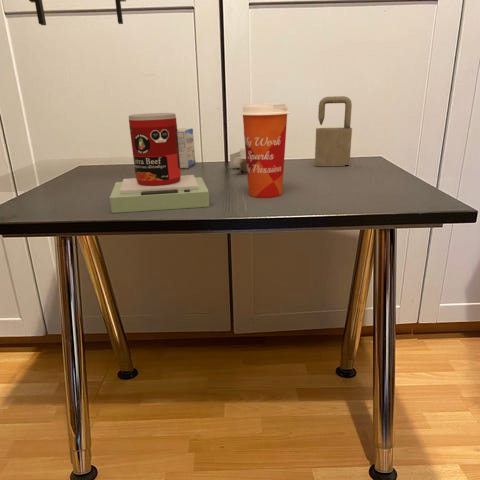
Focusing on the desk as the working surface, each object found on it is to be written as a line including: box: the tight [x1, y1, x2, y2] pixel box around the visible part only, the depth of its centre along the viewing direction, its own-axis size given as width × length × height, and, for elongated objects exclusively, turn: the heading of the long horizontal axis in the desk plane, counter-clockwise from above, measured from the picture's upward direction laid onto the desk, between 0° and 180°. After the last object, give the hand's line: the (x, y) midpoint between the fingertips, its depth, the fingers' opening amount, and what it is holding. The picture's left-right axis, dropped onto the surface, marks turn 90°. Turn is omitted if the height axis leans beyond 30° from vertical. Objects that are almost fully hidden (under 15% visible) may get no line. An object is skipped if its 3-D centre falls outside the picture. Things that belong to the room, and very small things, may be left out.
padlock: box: [314, 95, 353, 167], centre depth 112 cm, size 4×8×15 cm, turn 82°
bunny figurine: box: [229, 147, 247, 173], centre depth 111 cm, size 10×5×15 cm
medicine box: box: [177, 127, 196, 170], centre depth 119 cm, size 8×4×9 cm, turn 171°
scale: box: [109, 174, 210, 214], centre depth 85 cm, size 16×14×3 cm
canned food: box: [128, 112, 182, 186], centre depth 82 cm, size 8×8×11 cm
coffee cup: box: [240, 103, 291, 199], centre depth 84 cm, size 8×8×15 cm
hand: (82, 24), depth 86 cm, fingers open, 13 cm apart
